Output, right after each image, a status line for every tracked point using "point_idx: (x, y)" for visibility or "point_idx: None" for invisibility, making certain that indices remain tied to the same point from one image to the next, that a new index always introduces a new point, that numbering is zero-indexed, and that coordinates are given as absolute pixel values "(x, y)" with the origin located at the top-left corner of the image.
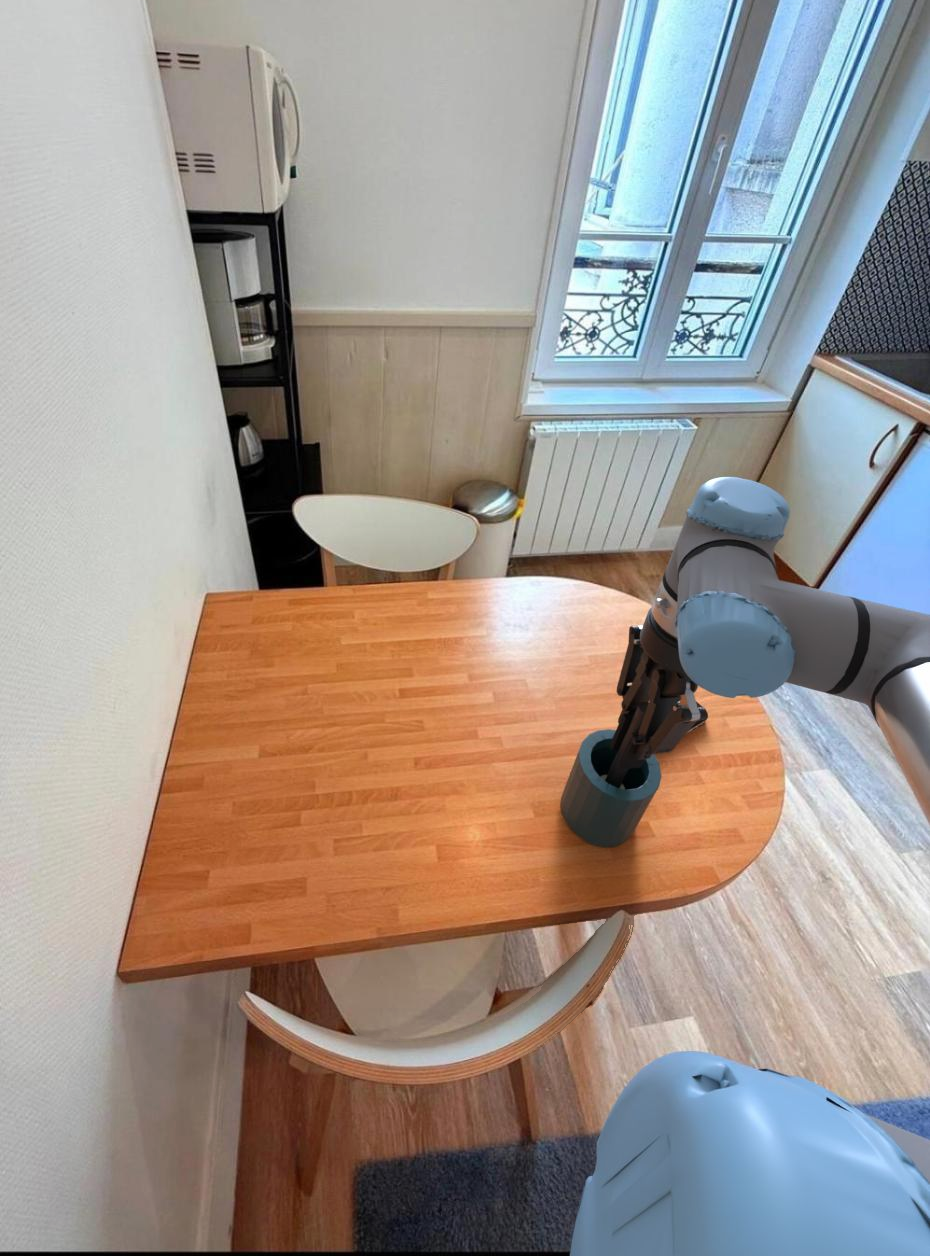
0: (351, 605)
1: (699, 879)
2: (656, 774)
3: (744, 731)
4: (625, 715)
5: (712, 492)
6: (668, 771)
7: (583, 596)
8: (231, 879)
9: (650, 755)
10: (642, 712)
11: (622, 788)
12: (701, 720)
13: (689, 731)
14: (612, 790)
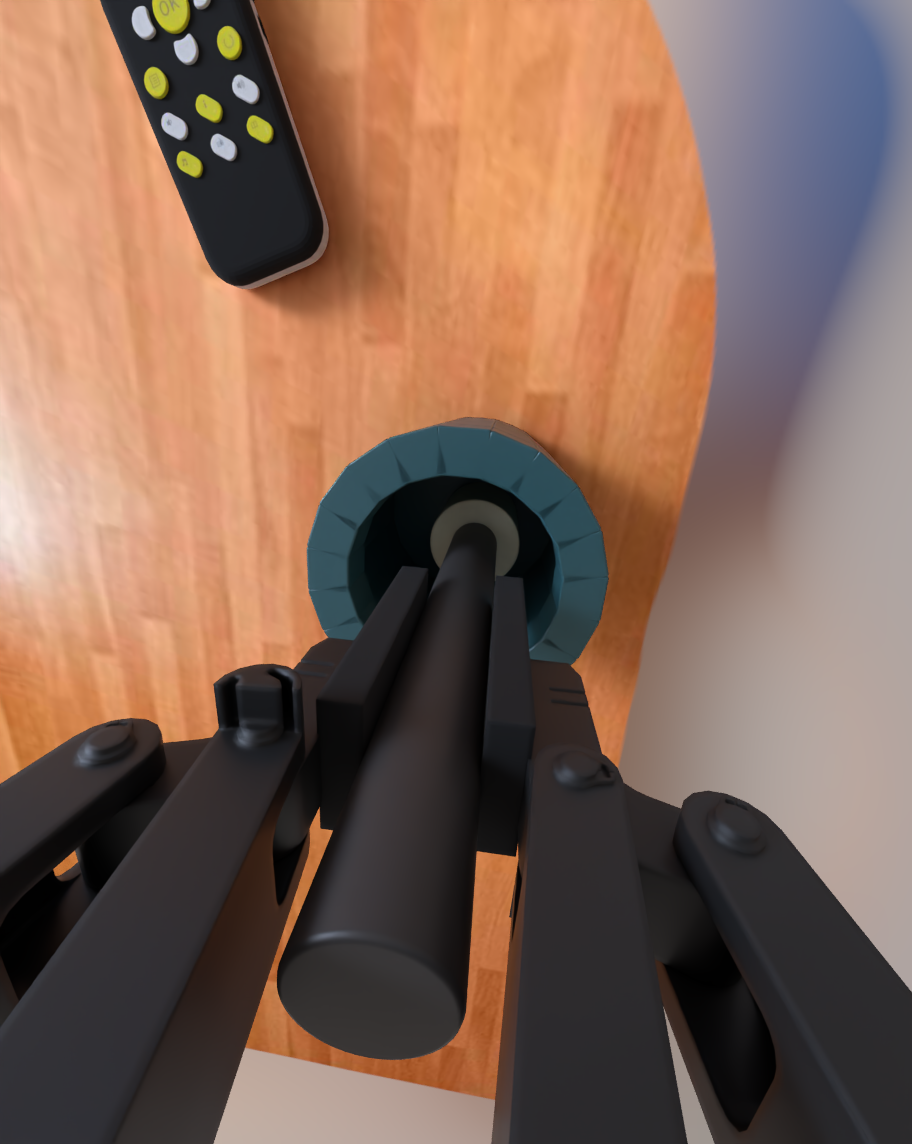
0: None
1: (701, 334)
2: (528, 468)
3: None
4: (336, 821)
5: None
6: (401, 238)
7: None
8: (460, 1029)
9: (584, 696)
10: (409, 1054)
11: (482, 508)
12: None
13: (272, 58)
14: (546, 658)
